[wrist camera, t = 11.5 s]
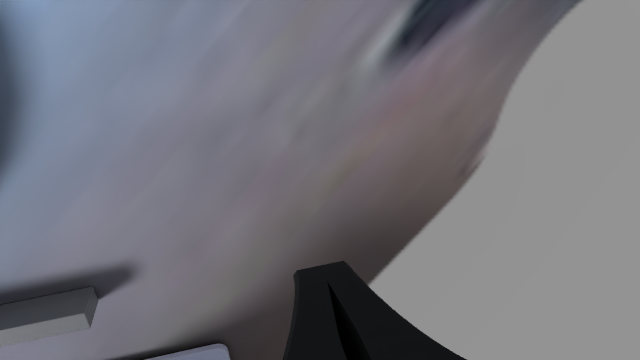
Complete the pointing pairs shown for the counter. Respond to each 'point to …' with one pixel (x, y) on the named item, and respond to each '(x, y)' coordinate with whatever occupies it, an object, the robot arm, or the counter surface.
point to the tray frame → (47, 316)
